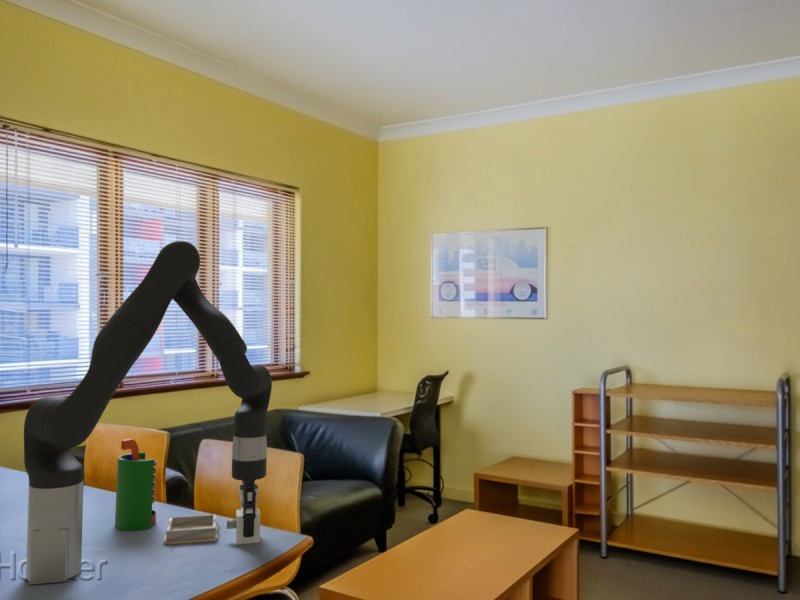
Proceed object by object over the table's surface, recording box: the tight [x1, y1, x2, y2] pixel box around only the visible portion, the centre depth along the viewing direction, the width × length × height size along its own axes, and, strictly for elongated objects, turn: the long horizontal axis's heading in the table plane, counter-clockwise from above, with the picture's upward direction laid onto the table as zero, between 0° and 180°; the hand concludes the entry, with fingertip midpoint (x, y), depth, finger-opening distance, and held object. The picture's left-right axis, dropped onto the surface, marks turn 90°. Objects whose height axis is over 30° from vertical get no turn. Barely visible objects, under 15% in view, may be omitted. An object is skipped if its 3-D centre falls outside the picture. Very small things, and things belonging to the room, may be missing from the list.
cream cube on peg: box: [226, 508, 261, 545], centre depth 144 cm, size 5×7×6 cm
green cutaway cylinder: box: [114, 438, 158, 531], centre depth 154 cm, size 10×9×20 cm
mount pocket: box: [162, 513, 219, 546], centre depth 147 cm, size 11×11×3 cm
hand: (247, 531), depth 145 cm, fingers open, 6 cm apart
